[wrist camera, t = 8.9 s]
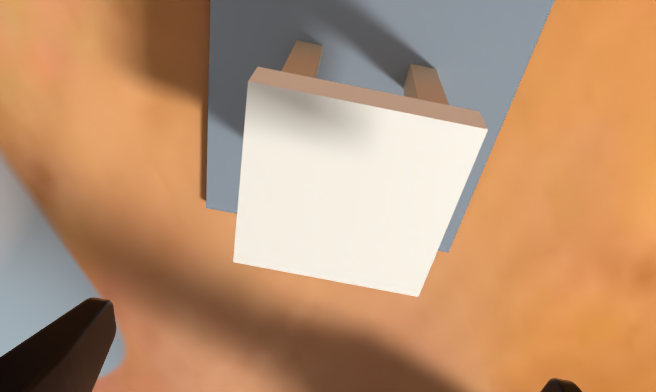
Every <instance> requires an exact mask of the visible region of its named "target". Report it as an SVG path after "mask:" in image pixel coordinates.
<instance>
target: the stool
mask: <svg viewBox="0 0 656 392" xmlns="http://www.w3.org/2000/svg"><path fill="white" fill-rule="evenodd" d="M322 48H323V46H322V45H317V44H312V43H307V42H302V41H296V43H295V45H294V47H293V49H292V51H291V53H290V55H289V57H288V59H287V61H286V63H285V65H284V67H283V69H282V71H277V70H272V69H267V68H262V67H257V68H256V70H255V71H254V73H253V74H252V76H251V77H250V79H249V81H248V88H247V100H246V112H245V125H244V137H243V149H242V161H241V173H240V186H239V198H238V210H237V222H236V234H235V247H234V259H233V262H236V263H241V264H246V265H252V266H257V267H262V268H267V269H273V270H278V271H283V272H289V273H294V274H299V275H305V276H310V277H315V278H321V279H326V280H331V281H337V282H342V283H347V284H353V285H358V286H363V287H369V288H374V289H379V290H385V291H390V292H395V293H401V294H406V295H411V296H417V297H418V296H419V294H420V291H421V289H422V287H423V284H424V282H425V279H426V277H427V275H428V272H429V270H430V267H431V265H432V263H433V260H434V258H435V256H436V253H437V251H438V248H439V246H440V244H441V241H442V239H443V236H444V234H445V232H446V229H447V227H448V224H449V222H450V220H451V217H452V215H453V212H454V210H455V208H456V205H457V203H458V200H459V198H460V196H461V193H462V191H463V188H464V186H465V184H466V181H467V179H468V177H469V174H470V172H471V169H472V167H473V165H474V162H475V160H476V157H477V155H478V153H479V150H480V148H481V145H482V143H483V141H484V138H485V136H486V133H487V131H488V128H487V126H486V124H485V122H484V120H483V118H482V116H481V114H480V112H479V111H475V110H470V109H465V108H460V107H455V106H450V105H449V103H448V100H447V98H446V95H445V92H444V90H443V87H442V84H441V81H440V79H439V76H438V73H437V71H436V69H434V68H429V67H424V66H419V65H414V64H410V67H409V70H408V74H407V77H406V81H405V84H404V88H403V90H404V96H401V95H396V94H391V93H386V92H381V91H376V90H371V89H366V88H361V87H356V86H351V85H346V84H341V83H337V82H332V81H327V80H322V79H317V75H318V71H319V66H320V60H321V54H322Z"/></svg>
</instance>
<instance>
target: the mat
mask: <svg viewBox="0 0 656 392" xmlns="http://www.w3.org/2000/svg"><path fill="white" fill-rule="evenodd" d="M554 1H555V0H210V43H209V92H208V140H207V189H206V208H209V209H214V210H220V211H225V212H231V213H236V214H237V210H238V198H239V186H240V173H241V161H242V149H243V137H244V125H245V112H246V100H247V88H248V81H249V79H250V77H251V76H252V74H253V73H254V71H255V70H256V68H257V67H262V68H267V69H272V70H277V71H282V69H283V67H284V65H285V63H286V61H287V59H288V57H289V55H290V53H291V51H292V49H293V47H294V45H295V43H296V41H302V42H307V43H312V44H317V45H322V46H323V48H322V54H321V60H320V66H319V71H318V75H317V79H322V80H327V81H332V82H337V83H341V84H346V85H351V86H356V87H361V88H366V89H371V90H376V91H381V92H386V93H391V94H396V95H401V96H404V90H403V88H404V84H405V81H406V77H407V74H408V70H409V67H410V64H414V65H419V66H424V67H429V68H434V69H436V71H437V73H438V76H439V79H440V81H441V84H442V87H443V90H444V92H445V95H446V98H447V100H448V103H449V105H450V106H455V107H460V108H465V109H470V110H475V111H479V112H480V114H481V116H482V118H483V120H484V122H485V124H486V126H487V128H488V131H487V133H486V136H485V138H484V141H483V143H482V145H481V148H480V150H479V153H478V155H477V157H476V160H475V162H474V165H473V167H472V169H471V172H470V174H469V177H468V179H467V181H466V184H465V186H464V188H463V191H462V193H461V196H460V198H459V200H458V203H457V205H456V208H455V210H454V212H453V215H452V217H451V220H450V222H449V224H448V227H447V229H446V232H445V234H444V236H443V239H442V241H441V244H440V246H439V248H438V251H444V252H449V249H450V247H451V245H452V242H453V240H454V238H455V235H456V233H457V230H458V228H459V226H460V223H461V221H462V219H463V216H464V214H465V211H466V209H467V207H468V204H469V202H470V200H471V197H472V195H473V193H474V190H475V188H476V185H477V183H478V181H479V178H480V176H481V174H482V171H483V169H484V166H485V164H486V162H487V159H488V157H489V155H490V152H491V150H492V148H493V145H494V143H495V140H496V138H497V136H498V133H499V131H500V129H501V126H502V124H503V121H504V119H505V117H506V114H507V112H508V110H509V107H510V105H511V103H512V100H513V98H514V95H515V93H516V91H517V88H518V86H519V84H520V81H521V79H522V76H523V74H524V72H525V69H526V67H527V65H528V62H529V60H530V57H531V55H532V53H533V50H534V48H535V46H536V43H537V41H538V39H539V36H540V34H541V31H542V29H543V27H544V24H545V22H546V20H547V17H548V15H549V12H550V10H551V8H552V5H553V3H554Z"/></svg>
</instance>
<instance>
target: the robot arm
mask: <svg viewBox="0 0 656 392" xmlns="http://www.w3.org/2000/svg"><path fill="white" fill-rule="evenodd" d="M115 333H116V322H115V315H114V308H113V303H112V302H111V301H110V300H106V299H100V298H89V299H87V300H85V301H83V302H82V303H80V304H79V305H77V306H76V307H75V308H73V309H72V310H70V311H69V312H67V313H66V314H64V315H63V316H61V317H60V318H58V319H57V320H55V321H54V322H52V323H51V324H49V325H48V326H46V327H45V328H43V329H42V330H40V331H39V332H37V333H36V334H34V335H33V336H31V337H30V338H29V339H27V340H25V341H24V342H22V343H21V344H19V345H18V346H16V347H15V348H13V349H12V350H11V351H9V352H8V353H6V354H5V355H3V356H2V357H0V392H92V390H93V388H94V385H95V383H96V381H97V378H98V376H99V373H100V371H101V368H102V366H103V364H104V361H105V359H106V357H107V354H108V352H109V349H110V347H111V344H112V342H113V340H114V337H115ZM541 392H582V391H581V390H580V389H579V387H578V386H577V385H576V384H574V383H573V382H571V381H568V380H562V379H556V378H553V379H550V380H549V381H548V382H547V384H546V385H545V386H544V388H543V389H542V390H541Z"/></svg>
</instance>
